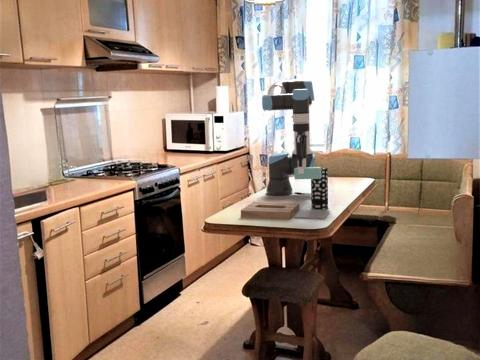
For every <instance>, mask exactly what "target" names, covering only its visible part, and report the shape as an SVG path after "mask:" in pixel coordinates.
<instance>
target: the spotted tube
mask: <svg viewBox="0 0 480 360" xmlns="http://www.w3.org/2000/svg"><path fill="white" fill-rule="evenodd" d="M320 167H321V166H320ZM328 172H329V170H328V167H324V166H322V167H321V175H322V177H321V178H320V179H310V192H311V193H310V196H311V197H310V198H311V199H310V201H311V204H310V205H311V209H313V210H317V209H318V210H317V211H322V210H321V209H323V210H327V209H328V208H329V183H328V182H329V173H328ZM319 209H320V210H319Z"/></svg>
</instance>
